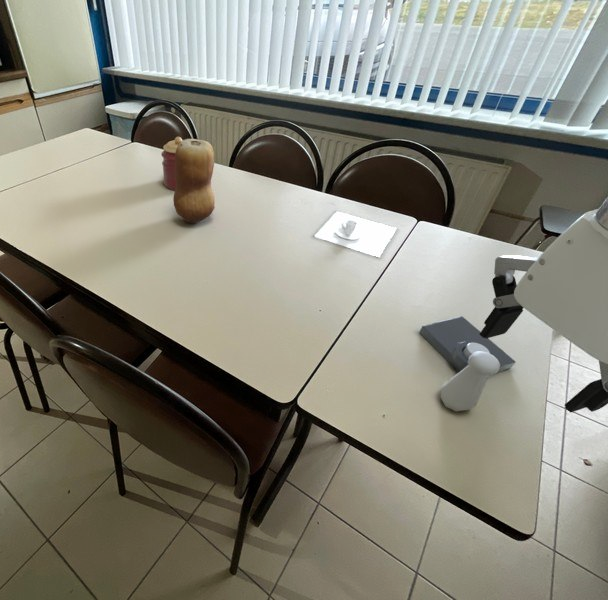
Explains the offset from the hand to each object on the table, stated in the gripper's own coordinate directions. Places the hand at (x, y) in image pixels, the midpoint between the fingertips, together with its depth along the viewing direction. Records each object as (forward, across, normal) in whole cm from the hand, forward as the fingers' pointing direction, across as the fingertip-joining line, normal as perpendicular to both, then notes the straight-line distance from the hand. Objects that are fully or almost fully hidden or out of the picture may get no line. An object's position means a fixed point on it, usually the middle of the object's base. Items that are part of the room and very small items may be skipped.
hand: (530, 367), depth 38 cm
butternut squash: (+31, +93, +12) cm, 99 cm away
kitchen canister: (+30, +121, +10) cm, 125 cm away
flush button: (+27, +17, -26) cm, 41 cm away
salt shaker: (+31, +11, -17) cm, 37 cm away
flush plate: (+30, +21, -29) cm, 47 cm away
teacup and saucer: (+30, +70, -35) cm, 84 cm away
